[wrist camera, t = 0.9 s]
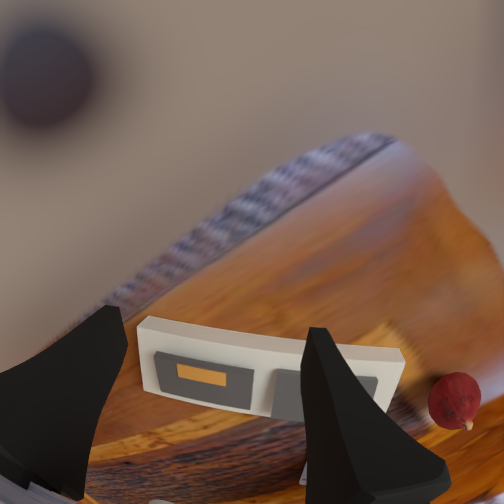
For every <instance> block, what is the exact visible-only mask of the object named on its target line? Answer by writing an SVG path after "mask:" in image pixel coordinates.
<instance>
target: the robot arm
mask: <svg viewBox="0 0 504 504" xmlns="http://www.w3.org/2000/svg"><path fill="white" fill-rule="evenodd" d="M127 347H128V342H127V338H126V334H125V330H124V326H123V322H122V318H121V313H120V309H119V307H115V306H109V305H105V306H103V307H102V308H101V309H99V310H98V311H97V312H95V313H94V314H93V315H91V316H90V317H89V318H87V319H86V320H85V321H84V322H82V323H81V324H80V325H78V326H77V327H76V328H74V329H73V330H72V331H71V332H69V333H68V334H67V335H65V336H64V337H62V338H61V339H60V340H58V341H57V342H55V343H54V344H53V345H51V346H50V347H48V348H47V349H45V350H44V351H42V352H41V353H39V354H37V355H36V356H34V357H32V358H30V359H29V360H27V361H25V362H23V363H21V364H19V365H17V366H15V367H13V368H11V369H9V370H6V371H4V372H2V373H0V504H78V503H75V502H73V501H70V500H68V499H66V498H64V497H61V496H59V495H57V494H61V495H63V496H65V497H68V498H70V499H72V500H75V501H79V500H82V499H83V498H84V489H85V479H86V471H87V466H88V460H89V454H90V450H91V445H92V441H93V437H94V433H95V430H96V426H97V423H98V419H99V416H100V414H101V411H102V409H103V406H104V404H105V402H106V400H107V397H108V395H109V393H110V391H111V389H112V386H113V384H114V382H115V380H116V378H117V375H118V373H119V371H120V369H121V366H122V363H123V360H124V357H125V354H126V351H127ZM300 389H301V397H302V405H303V414H304V422H305V430H306V440H307V462H306V464H305V467H304V470H303V473H302V475H301V478H300V481H299V484H301V485H306V498H305V504H430V501H432V500H434V499H435V498H437V497H438V496H440V495H441V494H443V493H444V492H445V491H447V490H448V489H449V488H450V486H451V485H452V483H451V479H450V475H449V471H448V468H447V465H446V462H445V460H444V459H442V458H440V457H439V456H437V455H436V454H434V453H433V452H431V451H430V450H428V449H427V448H425V447H424V446H422V445H421V444H420V443H418V442H417V441H416V440H414V439H413V438H412V437H411V436H409V435H408V434H407V433H406V432H405V431H404V430H403V429H402V428H400V427H399V426H398V425H397V424H396V423H395V422H394V421H393V420H392V419H391V418H390V417H389V416H388V415H387V414H386V413H385V412H384V411H383V410H382V409H381V408H380V407H379V405H378V404H377V403H376V402H375V401H374V400H373V399H372V397H371V396H370V395H369V394H368V392H367V391H366V390H365V388H364V387H363V386H362V384H361V383H360V382H359V380H358V379H357V377H356V376H355V375H354V373H353V372H352V370H351V368H350V367H349V365H348V364H347V362H346V361H345V359H344V358H343V356H342V354H341V353H340V351H339V349H338V348H337V346H336V344H335V342H334V341H333V339H332V337H331V335H330V333H329V331H328V330H327V329H326V328H315V327H310V328H309V332H308V336H307V340H306V344H305V348H304V352H303V356H302V360H301V364H300ZM51 491H53V492H55V493H57V494H55V493H53V492H51Z"/></svg>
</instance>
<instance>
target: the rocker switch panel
mask: <svg viewBox="0 0 504 504" xmlns="http://www.w3.org/2000/svg"><path fill="white" fill-rule="evenodd" d="M137 336H138V346H139V355H140V364H141V372H142V380H143V387H144V391H147V392H151V393H155V394H158V395H162V396H166V397H170V398H174V399H178V400H182V401H186V402H190V403H195V404H199V405H204V406H209V407H213V408H218V409H224V410H229V411H235V412H240V413H247V414H253V415H260V416H267V417H271V411H272V405H273V400H274V393H275V387H276V381H277V375H278V368H279V369H287V370H295V371H300V364H301V360H302V356H303V352H304V348H305V344H306V341H305V340H296V339H288V338H280V337H272V336H265V335H257V334H250V333H244V332H237V331H231V330H224V329H218V328H212V327H206V326H201V325H195V324H189V323H184V322H179V321H174V320H168V319H163V318H158V317H154V316H149V315H148V316H147V317H146V318H145V319H144V320H143V321H142V322H141V323H140V324H139V325H138V326H137ZM336 346H337V348H338V349H339V351H340V353H341V354H342V356H343V358H344V359H345V361H346V362H347V364H348V365H349V367H350V368H351V370H352V372H353V373H354V375H355V376H370V377H377V379H378V384H377V388H376V391H375V395H374V398H373V400H374V401H375V402H376V403H377V404H378V405H379V407H380V408H381V409H382V410H383V411H384V412H385V413H386V411H387V409H388V406H389V404H390V402H391V399H392V397H393V394H394V392H395V389H396V387H397V384H398V382H399V379H400V377H401V374H402V371H403V369H404V366H405V363H406V362H405V360H404V358H403V356H402V354H401V351H400V349H399V348H388V347H372V346H358V345H346V344H336ZM156 351H160V352H164V353H168V354H173V355H177V356H182V357H187V358H192V359H197V360H202V361H207V362H212V363H218V364H223V365H229V366H235V367H241V368H247V369H254V370H255V371H254V382H253V393H252V404H251V409H250V410H245V409H239V408H234V407H228V406H223V405H217V404H212V403H208V402H203V401H198V400H194V399H189V398H185V397H181V396H177V395H173V394H169V393H165V392H161V390H160V386H159V381H158V377H157V372H156V367H155V362H154V357H153V356H154V354H155V353H156Z"/></svg>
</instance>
